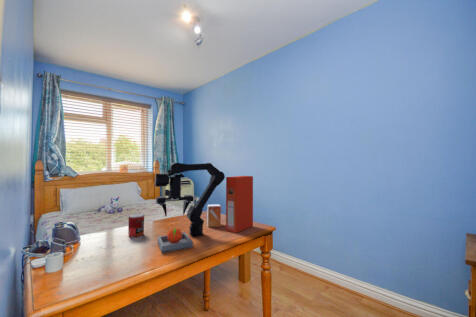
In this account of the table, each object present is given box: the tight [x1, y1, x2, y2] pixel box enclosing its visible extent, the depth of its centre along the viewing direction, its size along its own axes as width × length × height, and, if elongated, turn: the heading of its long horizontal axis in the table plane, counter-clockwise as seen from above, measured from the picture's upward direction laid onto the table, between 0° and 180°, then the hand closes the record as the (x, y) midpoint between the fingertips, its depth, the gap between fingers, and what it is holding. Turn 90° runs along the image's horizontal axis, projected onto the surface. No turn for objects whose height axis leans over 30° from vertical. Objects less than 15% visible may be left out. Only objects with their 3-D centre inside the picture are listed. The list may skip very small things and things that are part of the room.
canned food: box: [127, 212, 145, 238], centre depth 117 cm, size 8×8×11 cm
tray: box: [156, 232, 194, 254], centre depth 104 cm, size 14×14×3 cm
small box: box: [206, 203, 222, 228], centre depth 137 cm, size 8×6×13 cm
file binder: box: [225, 175, 254, 234], centre depth 131 cm, size 8×17×32 cm, turn 143°
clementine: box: [166, 227, 183, 243], centre depth 104 cm, size 8×7×7 cm
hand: (174, 215), depth 114 cm, fingers open, 9 cm apart
